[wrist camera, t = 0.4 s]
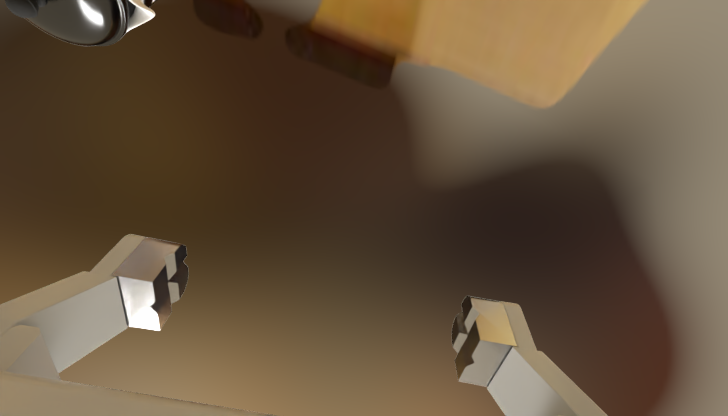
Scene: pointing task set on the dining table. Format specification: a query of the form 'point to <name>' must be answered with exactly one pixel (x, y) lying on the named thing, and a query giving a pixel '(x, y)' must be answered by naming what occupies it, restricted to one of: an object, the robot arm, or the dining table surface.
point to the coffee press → (84, 18)
